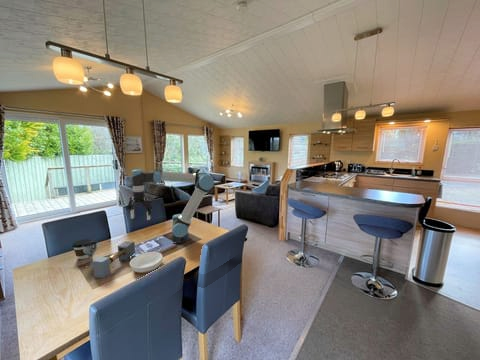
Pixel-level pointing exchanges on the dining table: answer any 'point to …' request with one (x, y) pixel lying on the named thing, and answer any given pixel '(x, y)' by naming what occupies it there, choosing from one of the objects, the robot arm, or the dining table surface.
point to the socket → (101, 267)
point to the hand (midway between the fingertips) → (140, 218)
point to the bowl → (146, 262)
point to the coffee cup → (80, 248)
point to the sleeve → (127, 250)
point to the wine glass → (90, 250)
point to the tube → (116, 255)
